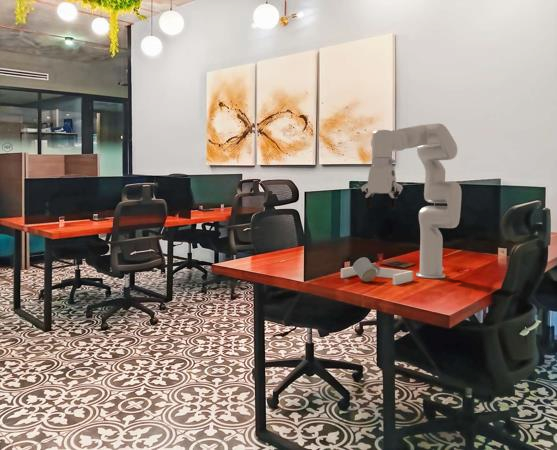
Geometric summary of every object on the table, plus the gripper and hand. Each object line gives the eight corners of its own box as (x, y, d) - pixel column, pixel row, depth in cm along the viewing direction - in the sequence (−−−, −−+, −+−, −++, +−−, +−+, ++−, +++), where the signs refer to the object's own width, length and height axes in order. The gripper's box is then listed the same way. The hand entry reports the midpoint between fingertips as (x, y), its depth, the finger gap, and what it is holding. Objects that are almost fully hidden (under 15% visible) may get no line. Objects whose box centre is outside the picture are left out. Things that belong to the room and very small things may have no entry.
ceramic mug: (362, 285, 212) (362, 273, 207) (353, 273, 218) (352, 260, 213) (384, 276, 214) (384, 263, 209) (374, 264, 220) (374, 251, 215)
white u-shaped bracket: (359, 274, 234) (360, 265, 234) (413, 280, 216) (413, 271, 216) (340, 277, 222) (340, 268, 222) (395, 285, 205) (395, 275, 205)
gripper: (407, 163, 189) (406, 209, 190) (367, 164, 200) (366, 208, 201) (397, 161, 183) (396, 209, 184) (356, 163, 195) (356, 208, 195)
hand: (380, 208), depth 193 cm, fingers open, 9 cm apart
